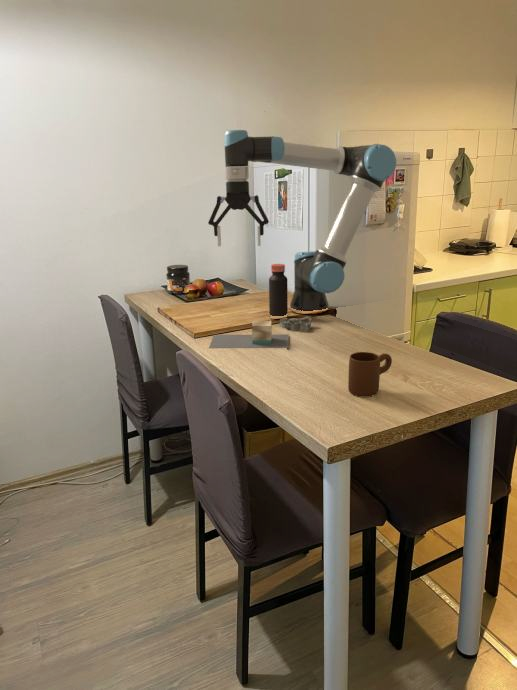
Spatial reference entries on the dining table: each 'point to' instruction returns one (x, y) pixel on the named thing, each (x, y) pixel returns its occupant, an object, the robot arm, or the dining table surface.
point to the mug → (366, 372)
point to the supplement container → (177, 278)
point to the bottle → (278, 291)
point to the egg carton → (296, 323)
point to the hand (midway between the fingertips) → (239, 245)
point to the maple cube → (261, 332)
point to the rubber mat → (248, 341)
